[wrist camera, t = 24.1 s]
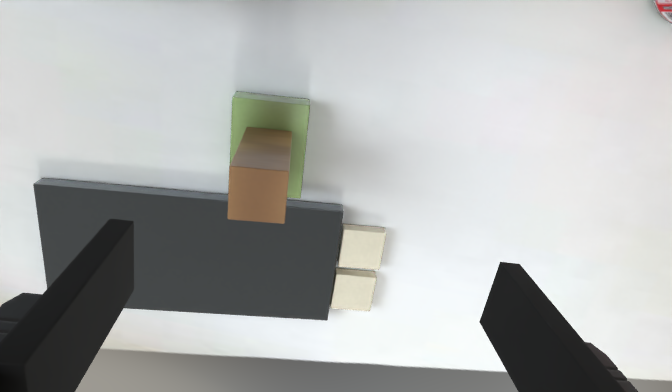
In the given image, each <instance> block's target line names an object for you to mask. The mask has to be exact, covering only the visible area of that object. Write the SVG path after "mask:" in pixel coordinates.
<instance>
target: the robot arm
mask: <svg viewBox="0 0 672 392" xmlns="http://www.w3.org/2000/svg"><path fill="white" fill-rule="evenodd" d="M133 291H134V221H129V220H120V219H111V218H110V219H109V220H108V221H107V222H106V223H105V225H104V226H103V227H102V228H101V229H100V230H99V231H98V232H97V234H96V235H95V236H94V237H93V238H92V239H91V240H90V242H89V243H88V244H87V245H86V246H85V247H84V248H83V249H82V251H81V252H80V253H79V254H78V255H77V256H76V257H75V258H74V260H73V261H72V262H71V263H70V264H69V265H68V266H67V268H66V269H65V270H64V271H63V272H62V273H61V274H60V275H59V277H58V278H57V279H56V280H55V281H54V282H53V283H52V284H51V286H50V287H49V288H48V289H47V290H46V291H45V292H44V294H43V295H42V294H31V293H22V294H20V295H18V296H16V297H14V298H13V299H11V300H9V301H7V302H5V303H4V304H2V305H1V306H0V392H75V390H76V388H77V387H78V385H79V383H80V382H81V380H82V378H83V377H84V375H85V373H86V371H87V370H88V368H89V366H90V364H91V363H92V361H93V359H94V358H95V356H96V354H97V353H98V351H99V349H100V347H101V346H102V344H103V342H104V340H105V339H106V337H107V335H108V334H109V332H110V330H111V328H112V327H113V325H114V323H115V322H116V320H117V318H118V316H119V315H120V313H121V311H122V310H123V308H124V306H125V304H126V303H127V301H128V299H129V298H130V296H131V294H132V292H133ZM480 323H481V325H482V327H483V329H484V331H485V332H486V334H487V336H488V338H489V340H490V341H491V343H492V345H493V347H494V349H495V350H496V352H497V354H498V356H499V358H500V359H501V361H502V363H503V365H504V367H505V368H506V370H507V372H508V374H509V375H510V377H511V379H512V381H513V383H514V384H515V386H516V388H517V390H518V391H519V392H638V391H637V390H636V389H635V387H634V386H633V385H632V384H631V383H630V382H629V381H627V378H626V377H625V376H624V375H623V374H622V372H621V371H619V370H618V368H617V367H616V365H615V364H614V363H613V362H612V361H611V360H610V359H609V357H608V356H607V355H606V354H605V353H603V352H602V351H601V350H599V349H598V348H597V347H595V346H594V345H593V344H591V343H587V342H584V341H583V340H582V338H581V337H580V336H579V335H578V334H577V332H576V331H575V330H574V329H573V328H572V326H571V325H570V324H569V323H568V322H567V320H566V319H565V318H564V317H563V316H562V314H561V313H560V312H559V311H558V310H557V308H556V307H555V306H554V305H553V304H552V302H551V301H550V300H549V299H548V298H547V296H546V295H545V294H544V293H543V292H542V290H541V289H540V288H539V287H538V286H537V284H536V283H535V282H534V281H533V280H532V278H531V277H530V276H529V275H528V274H527V272H526V271H525V270H524V269H523V268H522V266H521V265H520V264H514V263H505V262H500V264H499V267H498V270H497V273H496V276H495V279H494V282H493V285H492V288H491V290H490V293H489V296H488V299H487V302H486V305H485V308H484V311H483V314H482V316H481V319H480Z"/></svg>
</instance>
